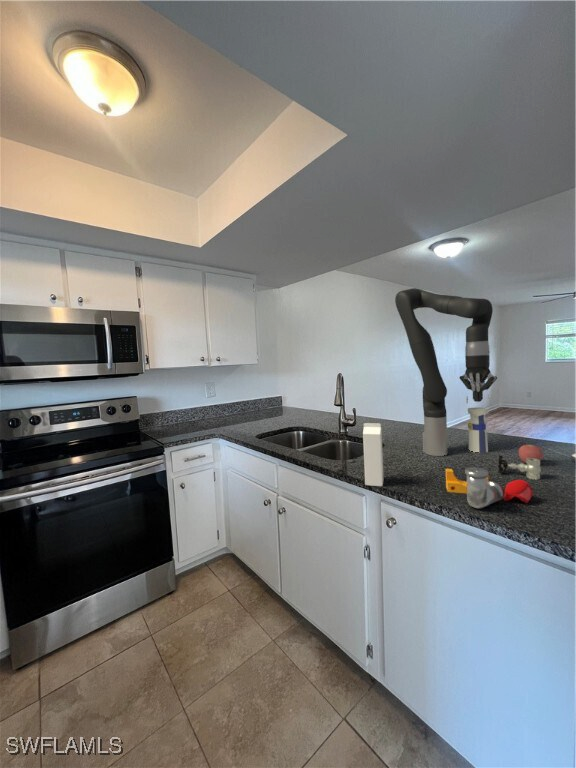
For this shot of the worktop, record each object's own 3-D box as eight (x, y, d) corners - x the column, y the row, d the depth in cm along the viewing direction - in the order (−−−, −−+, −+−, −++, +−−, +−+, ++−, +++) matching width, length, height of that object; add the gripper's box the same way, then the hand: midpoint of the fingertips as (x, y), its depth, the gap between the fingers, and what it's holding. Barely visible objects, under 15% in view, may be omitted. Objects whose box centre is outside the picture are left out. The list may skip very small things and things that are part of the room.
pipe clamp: (447, 492, 103) (447, 473, 102) (446, 487, 107) (445, 468, 106) (490, 495, 99) (489, 475, 98) (486, 489, 103) (486, 470, 102)
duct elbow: (481, 514, 88) (480, 476, 87) (461, 506, 93) (460, 470, 92) (503, 503, 93) (503, 467, 92) (483, 496, 98) (483, 462, 97)
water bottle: (474, 454, 138) (473, 398, 136) (464, 448, 146) (463, 395, 144) (493, 453, 137) (492, 396, 136) (481, 447, 146) (481, 394, 144)
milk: (367, 479, 118) (364, 421, 116) (383, 480, 115) (381, 421, 114) (365, 485, 112) (362, 424, 110) (382, 486, 110) (380, 425, 108)
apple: (515, 459, 128) (515, 440, 127) (537, 460, 125) (537, 441, 125) (522, 466, 121) (522, 445, 120) (545, 467, 118) (546, 446, 118)
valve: (540, 476, 111) (500, 470, 118) (541, 457, 110) (500, 453, 118) (540, 482, 106) (498, 475, 113) (540, 463, 105) (498, 458, 113)
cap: (523, 484, 98) (505, 474, 99) (538, 485, 92) (518, 474, 93) (515, 507, 96) (496, 497, 97) (529, 510, 90) (510, 499, 91)
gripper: (453, 355, 118) (454, 401, 119) (490, 353, 106) (490, 404, 107) (465, 354, 121) (466, 398, 122) (502, 353, 109) (502, 401, 111)
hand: (477, 401), depth 115 cm, fingers closed
